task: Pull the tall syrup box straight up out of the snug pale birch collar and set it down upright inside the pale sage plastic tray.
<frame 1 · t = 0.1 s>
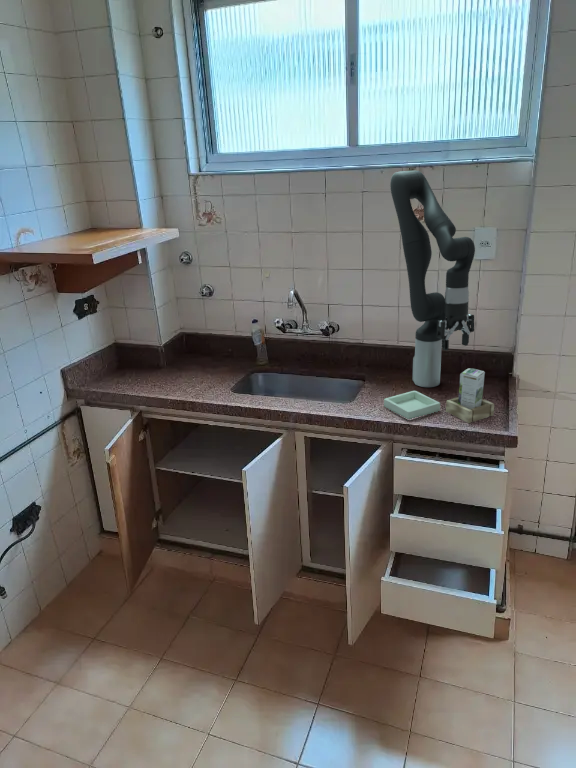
hand: (455, 347, 196), 17 cm above the worktop, tool pointing down, fingers open, 8 cm apart
collar: (469, 413, 188), on the worktop
tray: (411, 409, 194), on the worktop
syrup box: (469, 414, 188), resting in collar
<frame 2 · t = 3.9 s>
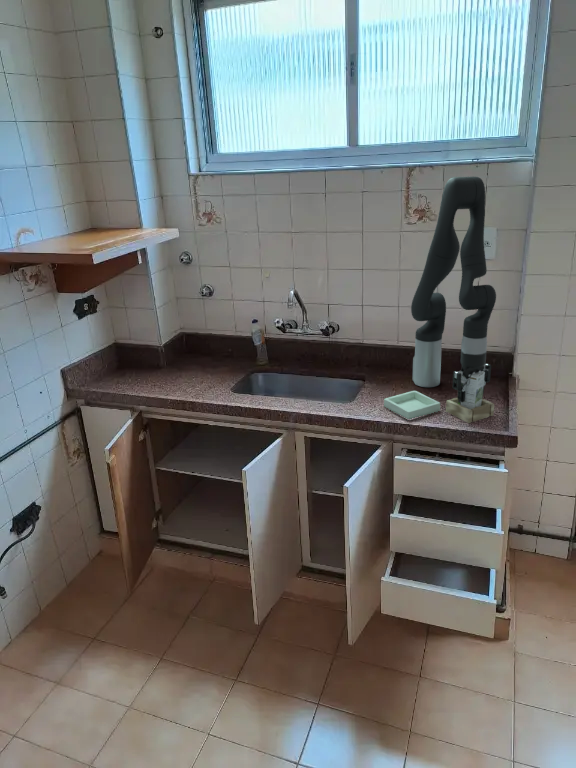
hand: (470, 398, 186), 5 cm above the worktop, tool pointing down, fingers closed on syrup box, 7 cm apart
syrup box: (469, 414, 188), resting in collar, touching gripper
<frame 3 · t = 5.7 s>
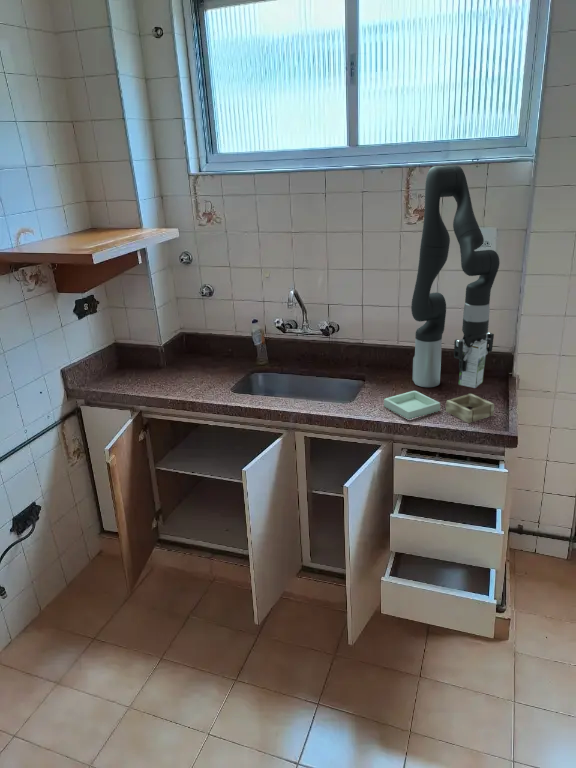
hand: (472, 368, 182), 16 cm above the worktop, tool pointing down, fingers closed on syrup box, 7 cm apart
syrup box: (470, 384, 185), point 10 cm above the worktop, touching gripper
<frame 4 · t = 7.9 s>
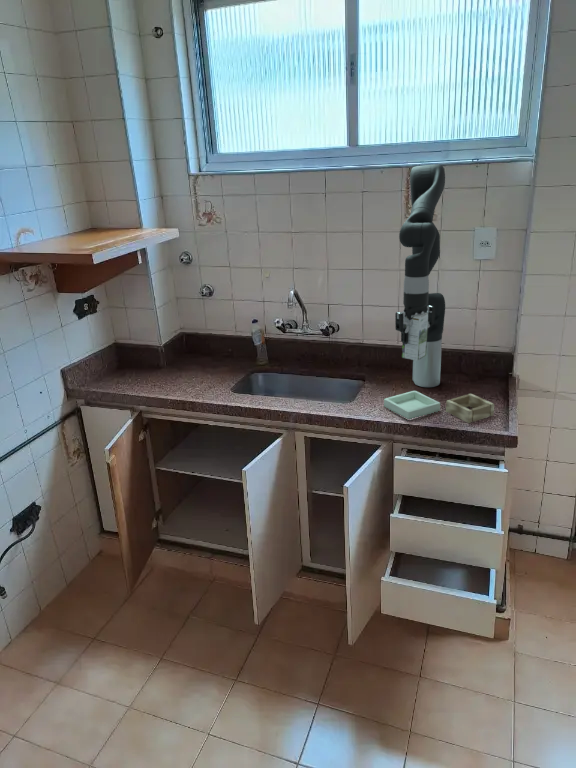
hand: (414, 341, 185), 24 cm above the worktop, tool pointing down, fingers closed on syrup box, 7 cm apart
syrup box: (414, 357, 187), point 18 cm above the worktop, touching gripper
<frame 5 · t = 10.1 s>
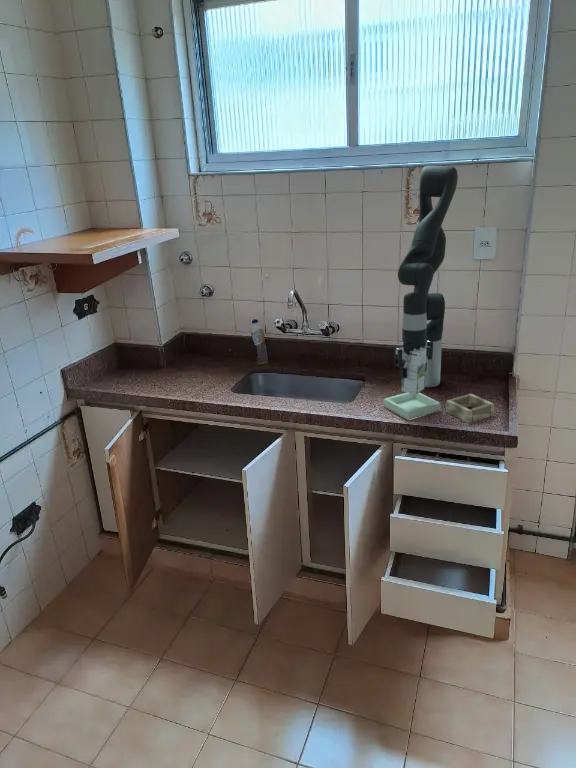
hand: (413, 375, 189), 12 cm above the worktop, tool pointing down, fingers closed on syrup box, 7 cm apart
syrup box: (413, 391, 191), point 7 cm above the worktop, touching gripper
when the fingers open (7 cm above the worktop, at t = 12.2 s): syrup box drops 1 cm, resting on tray.
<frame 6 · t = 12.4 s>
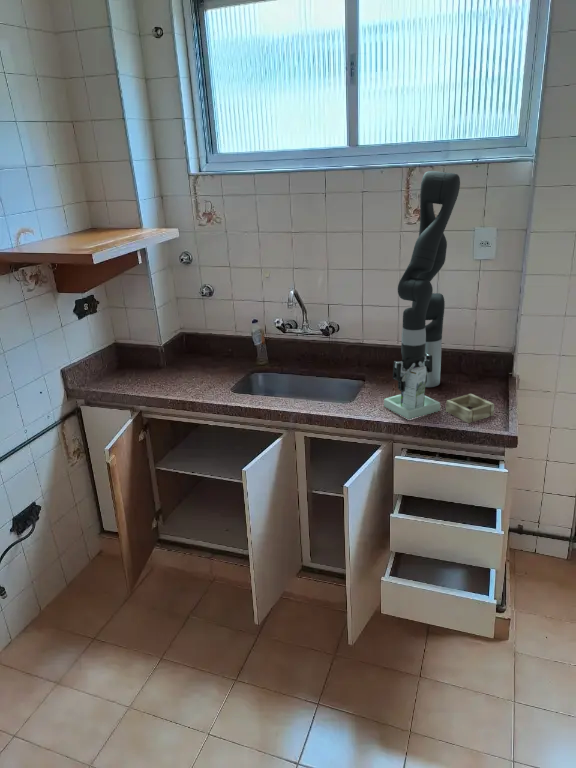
hand: (412, 388, 191), 8 cm above the worktop, tool pointing down, fingers open, 8 cm apart
syrup box: (412, 407, 194), resting on tray
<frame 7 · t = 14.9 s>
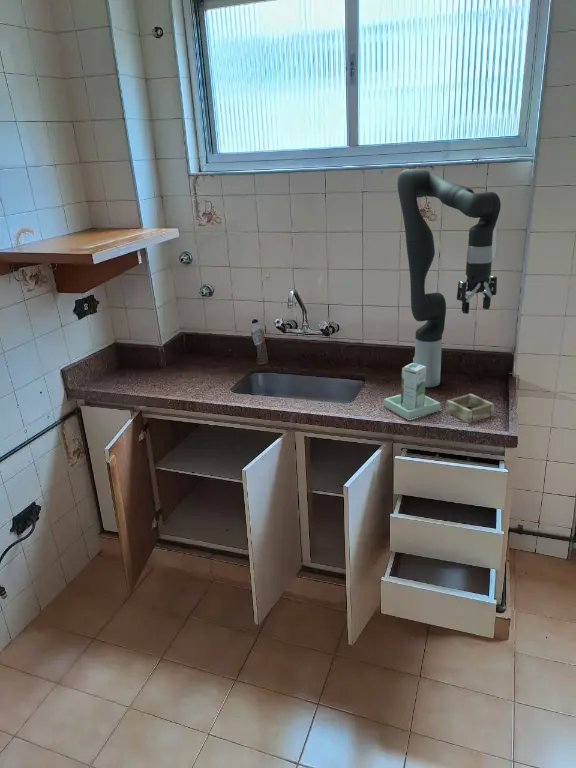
hand: (475, 311, 187), 31 cm above the worktop, tool pointing down, fingers open, 8 cm apart
nothing on the worktop moved.
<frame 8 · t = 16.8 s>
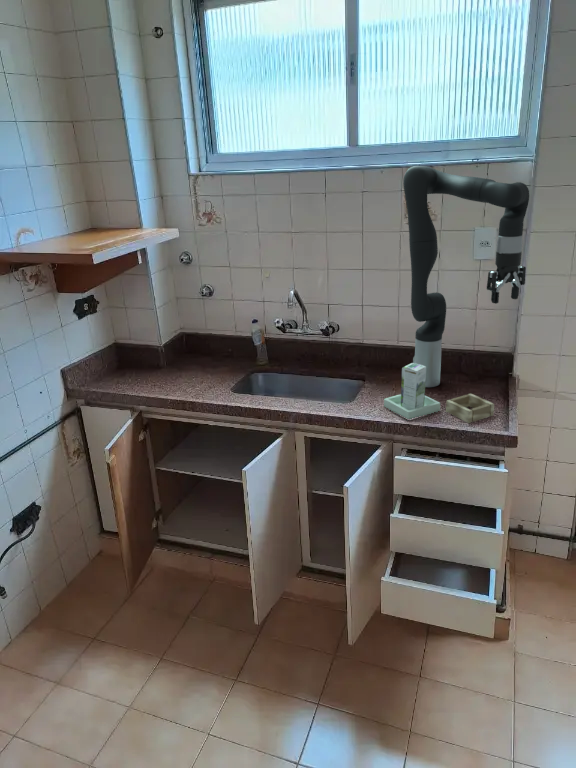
hand: (504, 300, 188), 33 cm above the worktop, tool pointing down, fingers open, 8 cm apart
nothing on the worktop moved.
at the end: syrup box 0.4 cm off-centre on the tray, point 0.4 cm above the tray's base; syrup box tilted 0°; the gripper is holding nothing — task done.
